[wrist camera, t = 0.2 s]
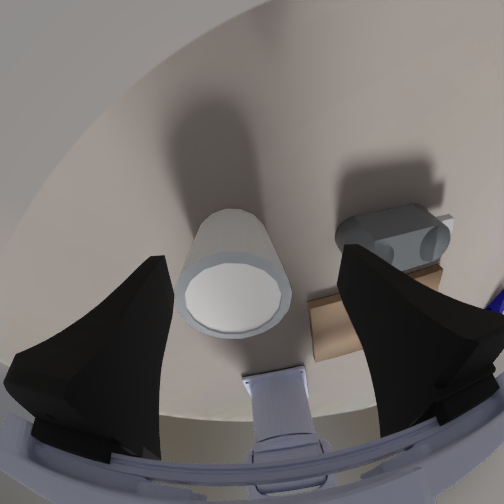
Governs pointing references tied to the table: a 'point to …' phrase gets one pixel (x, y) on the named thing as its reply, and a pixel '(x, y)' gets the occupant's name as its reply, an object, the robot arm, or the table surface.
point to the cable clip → (497, 304)
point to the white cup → (232, 278)
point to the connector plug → (399, 235)
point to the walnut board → (348, 320)
